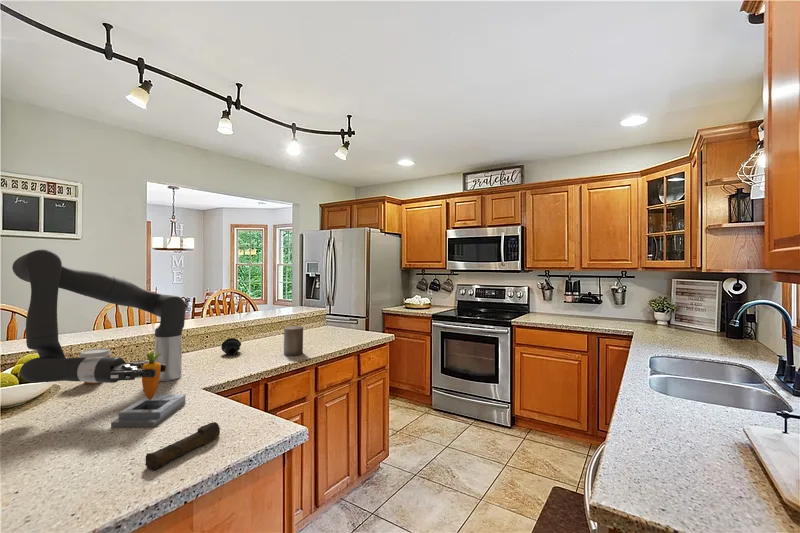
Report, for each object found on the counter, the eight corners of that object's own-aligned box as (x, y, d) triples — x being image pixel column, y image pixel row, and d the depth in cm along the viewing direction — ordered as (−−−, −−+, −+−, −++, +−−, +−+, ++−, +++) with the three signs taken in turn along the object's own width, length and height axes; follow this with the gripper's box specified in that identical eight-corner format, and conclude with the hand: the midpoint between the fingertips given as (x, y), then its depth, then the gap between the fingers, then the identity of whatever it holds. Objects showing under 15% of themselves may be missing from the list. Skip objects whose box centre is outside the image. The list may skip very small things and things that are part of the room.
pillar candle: (306, 353, 194) (307, 324, 194) (292, 356, 186) (292, 327, 186) (294, 350, 199) (294, 322, 199) (279, 354, 191) (279, 325, 191)
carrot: (146, 396, 116) (148, 348, 116) (163, 396, 116) (165, 349, 116) (136, 402, 111) (138, 352, 111) (153, 402, 111) (155, 353, 111)
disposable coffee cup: (92, 387, 136) (93, 354, 136) (71, 384, 138) (72, 352, 138) (117, 379, 145) (117, 348, 145) (97, 377, 147) (97, 347, 147)
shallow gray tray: (149, 403, 122) (149, 394, 122) (185, 403, 123) (185, 394, 123) (110, 427, 104) (111, 417, 104) (153, 427, 105) (153, 417, 105)
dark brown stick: (154, 474, 83) (155, 453, 83) (143, 469, 85) (144, 449, 85) (226, 438, 100) (226, 421, 100) (216, 435, 102) (216, 418, 102)
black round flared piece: (219, 348, 180) (216, 330, 195) (228, 365, 185) (224, 347, 200) (238, 340, 184) (234, 323, 198) (246, 357, 189) (242, 339, 203)
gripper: (84, 363, 105) (146, 364, 107) (118, 351, 120) (173, 352, 121) (83, 389, 105) (145, 390, 107) (117, 374, 120) (172, 375, 121)
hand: (160, 370), depth 114 cm, fingers closed on carrot, 5 cm apart
